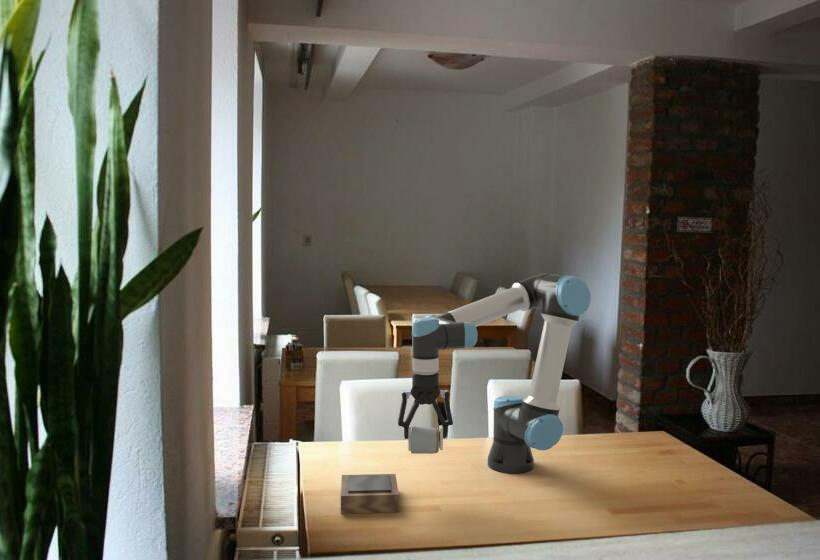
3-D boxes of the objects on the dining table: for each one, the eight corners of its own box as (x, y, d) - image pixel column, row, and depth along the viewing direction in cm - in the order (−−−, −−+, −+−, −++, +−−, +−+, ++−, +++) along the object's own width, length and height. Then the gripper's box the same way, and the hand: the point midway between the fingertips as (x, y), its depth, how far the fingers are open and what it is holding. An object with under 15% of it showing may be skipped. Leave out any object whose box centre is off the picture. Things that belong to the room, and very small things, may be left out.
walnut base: (395, 490, 218) (395, 471, 218) (398, 512, 202) (398, 492, 202) (341, 491, 217) (341, 472, 216) (340, 513, 201) (340, 493, 201)
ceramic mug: (439, 457, 206) (439, 430, 205) (410, 457, 206) (410, 430, 206) (439, 445, 217) (439, 420, 216) (411, 445, 217) (411, 420, 216)
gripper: (460, 368, 213) (459, 443, 215) (387, 369, 211) (388, 445, 213) (464, 374, 205) (463, 452, 208) (389, 375, 204) (389, 454, 206)
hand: (425, 448), depth 210 cm, fingers closed on ceramic mug, 8 cm apart
